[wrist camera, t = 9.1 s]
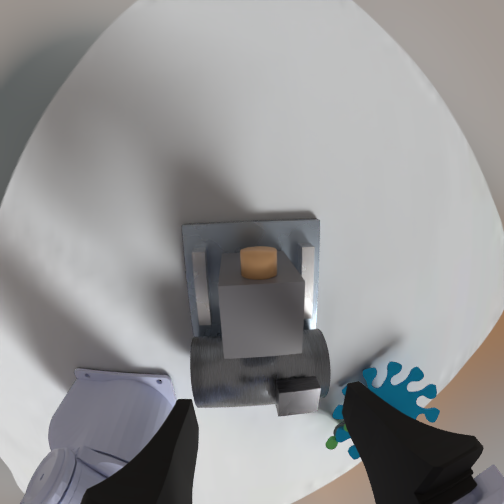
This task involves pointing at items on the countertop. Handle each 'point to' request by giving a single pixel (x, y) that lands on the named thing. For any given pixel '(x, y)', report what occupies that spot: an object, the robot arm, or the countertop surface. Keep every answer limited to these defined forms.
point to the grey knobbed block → (260, 303)
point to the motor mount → (209, 322)
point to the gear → (388, 401)
